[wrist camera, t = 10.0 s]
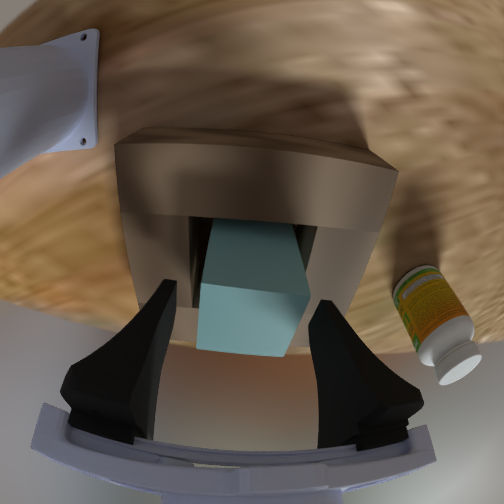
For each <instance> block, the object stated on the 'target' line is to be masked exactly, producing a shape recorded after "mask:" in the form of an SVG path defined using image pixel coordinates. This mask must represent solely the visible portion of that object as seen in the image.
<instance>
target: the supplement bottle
mask: <svg viewBox="0 0 504 504" xmlns="http://www.w3.org/2000/svg"><path fill="white" fill-rule="evenodd" d="M393 301H394V304H395V306H396V309H397V311H398V313H399V315H400V317H401V319H402V321H403V323H404V325H405V327H406V329H407V332H408V334H409V336H410V338H411V340H412V343H413V345H414V347H415V350H416V352H417V354H418V356H419V358H420V360H421V362H422V363H423V364H425V365H427V366H434V372H435V375H436V377H437V380H438V382H439V384H440V385H447V384H450V383H453V382H455V381H457V380H459V379H460V378H462V377H464V376H465V375H466V374H468V373H469V372H470V371H471V370H473V369H474V368H475V367H476V366H477V364H478V363H479V362H480V360H481V358H482V355H481V353H480V351H479V349H478V346H477V344H475V342H474V341H471V340H472V338H473V335H474V323H473V321H472V320H471V318H470V316H469V314H468V313H467V311H466V310H465V308H464V306H463V305H462V303H461V302H460V300H459V299H458V297H457V296H456V294H455V293H454V291H453V290H452V288H451V287H450V285H449V284H448V282H447V281H446V279H445V278H444V277H443V275H442V274H441V272H440V271H439V270H438V269H437V268H436V267H433V266H429V265H425V266H420V267H417V268H415V269H413V270H411V271H410V272H408V273H407V274H406V275H405V276H404V277H403V278H402V279H401V280H400V281H399V283H398V284H397V286H396V288H395V290H394V293H393Z"/></svg>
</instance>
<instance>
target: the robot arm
mask: <svg viewBox="0 0 504 504" xmlns="http://www.w3.org/2000/svg"><path fill="white" fill-rule="evenodd" d="M86 34H87V38H86V40H85V41H84V40H83V38H84V36H85V35H86ZM99 38H100V32H99V30H97V29H94V28H93V29H88V30H84V31H80V32H77V33H73V34H70V35H67V36H64V37H61V38H58V39H55V40H52V41H49V42H46V43H44V44H41V45H33V46H15V47H4V48H0V179H1V178H3V177H4V176H6V175H7V174H9V173H10V172H12V171H13V170H15V169H16V168H18V167H20V166H21V165H23V164H24V163H26V162H28V161H29V160H31V159H33V158H35V157H36V156H38V155H40V154H42V153H49V152H58V151H67V150H78V149H90V148H93V147H95V146H96V145H97V143H98V126H97V67H98V50H99ZM83 138H85V139H86V144H84V143H83ZM176 307H177V280H170V279H163V280H162V282H161V283H160V285H159V286H158V288H157V289H156V291H155V292H154V294H153V295H152V296H151V298H150V299H149V300H148V301H147V303H146V304H145V305H144V306H143V308H142V309H141V310H140V311H139V312H138V313H137V314H136V315H135V317H134V318H133V319H132V320H131V321H130V322H129V323H128V324H127V325H126V326H125V327H124V328H123V329H122V330H121V331H120V332H119V333H118V334H116V335H115V336H114V337H113V338H112V339H110V340H109V341H108V342H107V343H106V344H104V345H103V346H102V347H100V348H99V349H97V350H96V351H94V352H93V353H92V354H90V355H89V356H87V357H86V358H84V359H82V360H80V361H79V362H77V363H75V364H73V365H71V367H70V368H69V371H68V372H67V374H66V376H65V379H64V381H63V384H62V387H61V390H60V393H61V395H62V397H63V398H64V400H65V401H66V402H67V403H68V404H69V406H70V407H71V408H72V409H71V412H70V414H69V413H68V412H66V411H64V410H62V409H59V408H57V407H54V406H52V405H49V404H47V403H43V406H42V408H41V412H40V415H39V418H38V421H37V424H36V428H35V431H34V435H33V439H32V442H31V448H32V449H33V450H35V451H36V452H38V453H40V454H41V455H43V456H45V457H47V458H48V459H50V460H52V461H54V462H56V463H59V464H61V465H63V466H66V467H68V468H71V469H73V470H76V471H78V472H81V473H83V474H86V475H89V476H92V477H95V478H98V479H100V480H104V481H107V482H110V483H114V484H116V485H120V486H124V487H128V488H132V489H135V490H139V491H143V492H148V493H153V494H157V495H161V504H343V499H342V493H344V492H349V491H353V490H357V489H361V488H365V487H368V486H372V485H376V484H379V483H382V482H386V481H389V480H392V479H395V478H398V477H401V476H404V475H407V474H410V473H412V472H414V471H417V470H419V469H421V468H423V467H425V466H428V465H429V464H432V463H434V462H436V457H435V453H434V449H433V445H432V441H431V438H430V434H429V431H428V428H427V425H422V426H419V427H415V428H412V429H410V430H407V428H406V426H407V425H408V424H409V422H408V418H410V417H411V416H412V415H414V414H415V413H416V412H418V411H419V410H420V409H421V408H422V407H423V405H424V401H423V398H422V395H421V392H420V390H419V389H418V388H416V387H414V386H413V385H411V384H410V383H408V382H406V381H405V380H404V379H402V378H400V377H399V376H398V375H397V374H395V373H394V372H393V371H392V370H390V369H389V368H388V367H387V366H386V365H385V364H384V363H383V362H381V361H380V360H379V359H378V358H377V357H376V356H375V355H374V354H373V353H372V352H371V351H370V349H369V348H368V347H367V346H366V345H365V344H364V343H363V341H362V340H361V339H360V338H359V336H358V335H357V334H356V333H355V331H354V330H353V329H352V327H351V326H350V325H349V323H348V322H347V321H346V319H345V318H344V317H343V315H342V314H341V312H340V311H339V310H338V308H337V307H336V305H335V304H334V303H333V302H332V300H323V299H321V300H320V302H319V304H318V306H317V308H316V310H315V312H314V314H313V316H312V318H311V320H310V322H309V324H308V335H309V344H310V350H311V355H312V360H313V364H314V369H315V374H316V379H317V388H318V403H319V404H318V405H319V432H318V446H317V449H311V450H297V451H233V450H218V449H207V448H198V447H190V446H182V445H176V444H169V443H164V442H158V441H153V435H154V422H155V411H156V403H157V395H158V388H159V381H160V375H161V369H162V365H163V361H164V358H165V354H166V351H167V347H168V344H169V340H170V337H171V334H172V330H173V326H174V320H175V315H176ZM193 463H198V464H208V465H220V466H240V468H209V467H194V464H193Z"/></svg>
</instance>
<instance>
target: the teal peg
mask: <svg viewBox="0 0 504 504" xmlns="http://www.w3.org/2000/svg"><path fill="white" fill-rule="evenodd" d="M310 298H311V293H310V289H309V285H308V281H307V277H306V274H305V270H304V266H303V262H302V259H301V255H300V251H299V248H298V244H297V240H296V237H295V233H294V230H293V226H292V224H290V223H278V222H266V221H254V220H241V219H227V218H214V219H213V224H212V229H211V234H210V239H209V244H208V249H207V254H206V259H205V265H204V270H203V276H202V281H201V291H200V303H199V316H198V329H197V345H196V348H197V349H204V350H212V351H220V352H229V353H239V354H250V355H262V356H277V357H283V356H284V354H285V352H286V350H287V348H288V346H289V344H290V342H291V340H292V338H293V336H294V333H295V331H296V329H297V327H298V325H299V323H300V321H301V318H302V316H303V314H304V312H305V309H306V307H307V305H308V303H309V300H310Z"/></svg>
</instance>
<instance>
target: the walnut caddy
mask: <svg viewBox="0 0 504 504" xmlns="http://www.w3.org/2000/svg"><path fill="white" fill-rule="evenodd" d="M114 147H115V162H116V174H117V185H118V194H119V202H120V210H121V217H122V224H123V230H124V237H125V243H126V248H127V254H128V259H129V264H130V269H131V274H132V279H133V283H134V288H135V292H136V297H137V301H138V305H139V309H140V310H141V309H142V308H143V306H144V305H145V304H146V303H147V301H148V300H149V299H150V298H151V296H152V295H153V294H154V292H155V291H156V289H157V288H158V286H159V285H160V283H161V282H162V280H163V279H170V280H177V307H176V315H175V320H174V326H173V330H172V334H171V337H170V339H171V340H180V341H190V342H197V329H198V316H199V303H200V291H201V281H202V276H203V270H204V269H200V265H199V217H212V218H227V219H241V220H254V221H266V222H278V223H290V224H298V227H297V232H296V240H297V244H298V248H299V251H300V255H301V259H302V262H303V266H304V270H305V274H306V277H307V281H308V285H309V289H310V293H311V298H310V300H309V303H308V305H307V307H306V309H305V312H304V314H303V316H302V318H301V321H300V323H299V325H298V327H297V329H296V331H295V333H294V336H293V338H292V340H291V342H290V344H289V346H288V347H310V344H309V335H308V324H309V322H310V320H311V318H312V316H313V314H314V312H315V310H316V308H317V306H318V304H319V302H320V300H321V299H323V300H332V302H333V303H334V304H335V305H336V307H337V308H338V310H339V311H340V312H341V314H342V315H343V317H345V315H346V312H347V310H348V308H349V306H350V304H351V301H352V299H353V297H354V295H355V292H356V290H357V288H358V285H359V283H360V281H361V278H362V276H363V273H364V271H365V269H366V266H367V264H368V261H369V258H370V256H371V253H372V251H373V248H374V245H375V243H376V240H377V237H378V235H379V232H380V229H381V226H382V223H383V220H384V217H385V214H386V211H387V208H388V205H389V202H390V199H391V196H392V193H393V189H394V186H395V183H396V179H397V176H398V172H399V171H398V170H396V169H395V168H394V167H392V166H391V165H390V164H388V163H387V162H386V161H384V160H383V159H382V158H380V157H379V156H377V155H376V154H375V153H373V152H372V151H370V150H367V149H363V148H358V147H353V146H348V145H343V144H338V143H333V142H327V141H321V140H315V139H309V138H302V137H295V136H288V135H280V134H271V133H261V132H251V131H239V130H224V129H203V128H142V129H140V130H138V131H136V132H135V133H133V134H131V135H129V136H128V137H126V138H124V139H123V140H121V141H119V142H118V143H116V144H114Z"/></svg>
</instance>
